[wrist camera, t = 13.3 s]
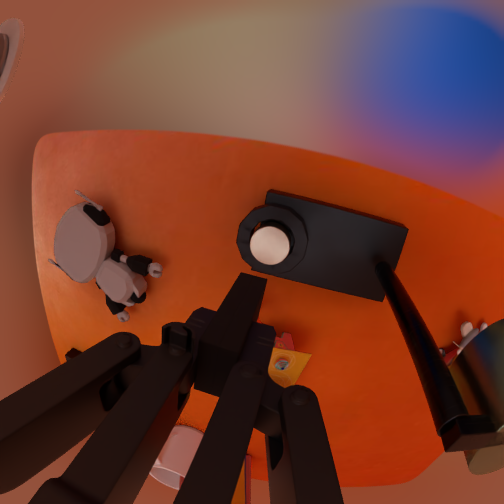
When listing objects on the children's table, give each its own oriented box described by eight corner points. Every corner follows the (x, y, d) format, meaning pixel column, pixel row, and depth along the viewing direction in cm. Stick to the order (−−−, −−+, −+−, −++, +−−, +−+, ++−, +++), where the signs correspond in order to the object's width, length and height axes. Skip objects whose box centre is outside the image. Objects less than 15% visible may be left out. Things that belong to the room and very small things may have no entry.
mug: (222, 450, 45) (206, 493, 35) (183, 449, 47) (166, 488, 38) (193, 415, 42) (171, 461, 33) (154, 415, 45) (129, 455, 35)
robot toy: (178, 258, 34) (91, 180, 32) (162, 274, 30) (68, 187, 28) (134, 315, 38) (61, 247, 36) (119, 334, 34) (42, 259, 32)
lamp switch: (250, 253, 27) (246, 259, 26) (257, 217, 26) (254, 222, 24) (286, 262, 27) (284, 269, 25) (294, 226, 26) (293, 231, 24)
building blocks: (181, 449, 43) (173, 514, 29) (234, 291, 31) (232, 391, 18) (247, 459, 44) (250, 523, 31) (337, 316, 33) (381, 406, 20)
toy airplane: (422, 365, 32) (434, 399, 26) (454, 308, 28) (475, 337, 22) (467, 372, 31) (482, 401, 25) (499, 319, 27) (520, 346, 21)
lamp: (362, 301, 26) (400, 486, 9) (387, 229, 24) (501, 377, 6) (443, 319, 25) (518, 465, 7) (470, 256, 23) (591, 376, 5)
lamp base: (240, 258, 32) (230, 273, 28) (254, 185, 29) (245, 189, 25) (378, 293, 30) (386, 311, 26) (402, 223, 27) (414, 234, 23)
